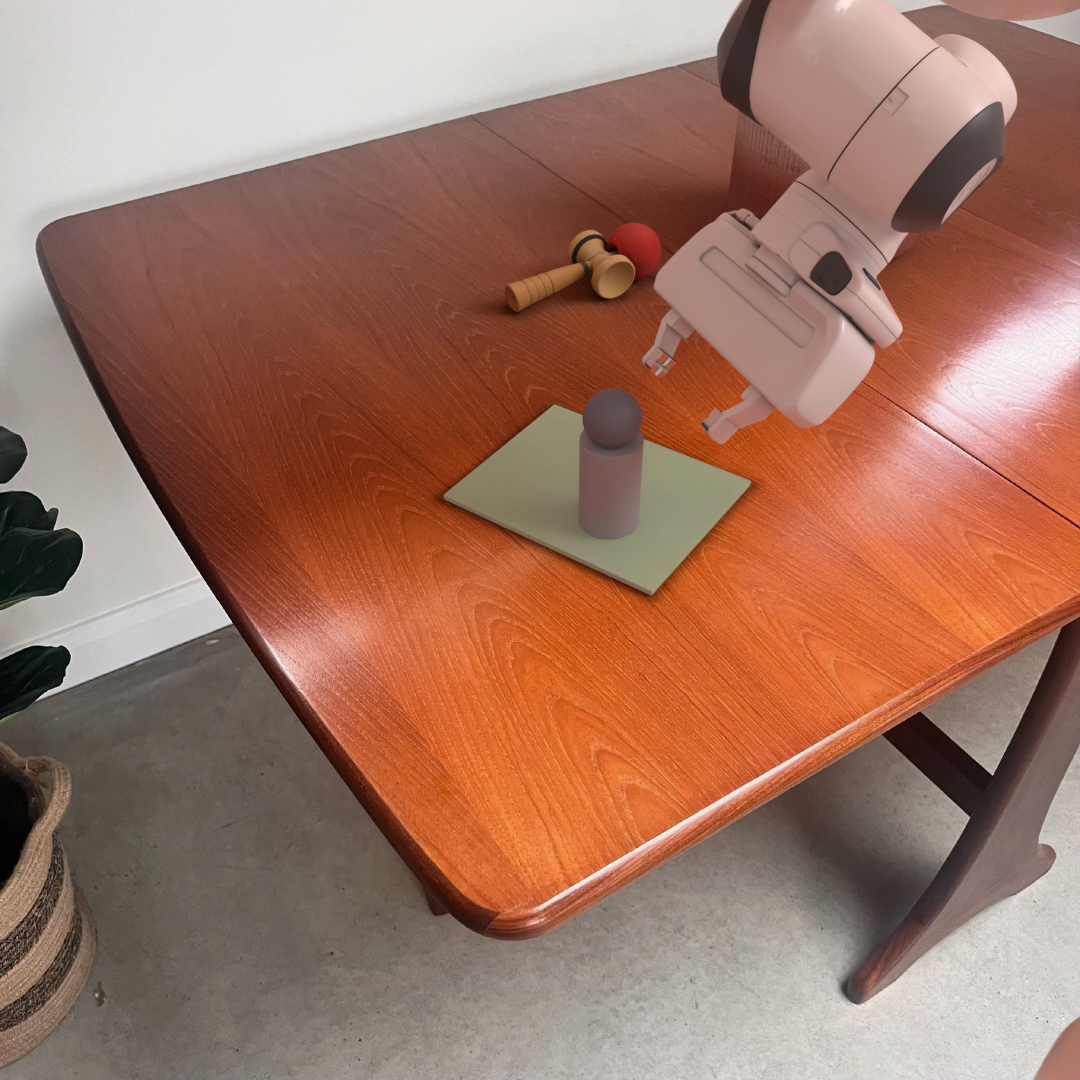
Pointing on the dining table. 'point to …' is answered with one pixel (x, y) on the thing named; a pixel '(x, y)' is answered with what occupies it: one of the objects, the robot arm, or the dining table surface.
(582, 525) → the ball
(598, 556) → the mat
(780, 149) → the planter
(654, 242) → the kendama
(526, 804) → the dining table surface
